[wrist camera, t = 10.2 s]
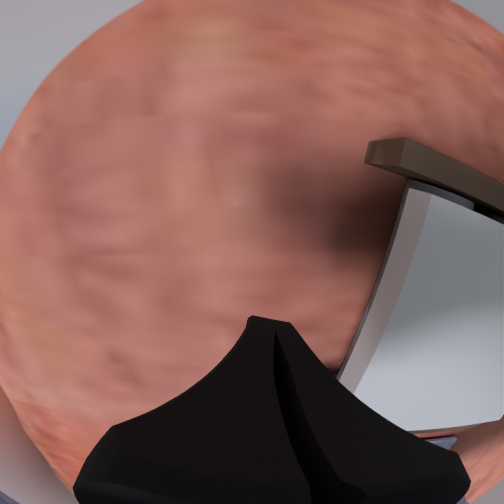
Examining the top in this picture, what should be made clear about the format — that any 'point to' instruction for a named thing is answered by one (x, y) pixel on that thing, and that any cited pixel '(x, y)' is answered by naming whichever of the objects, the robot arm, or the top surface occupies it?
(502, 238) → the metal plate
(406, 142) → the roller bed
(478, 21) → the top surface
